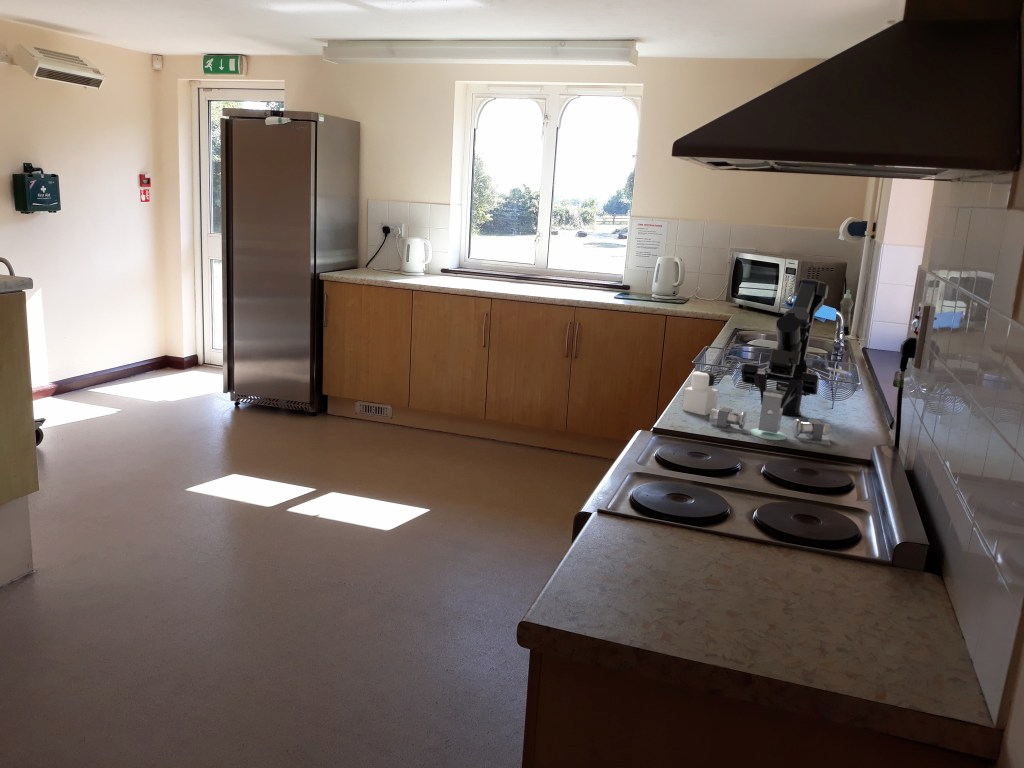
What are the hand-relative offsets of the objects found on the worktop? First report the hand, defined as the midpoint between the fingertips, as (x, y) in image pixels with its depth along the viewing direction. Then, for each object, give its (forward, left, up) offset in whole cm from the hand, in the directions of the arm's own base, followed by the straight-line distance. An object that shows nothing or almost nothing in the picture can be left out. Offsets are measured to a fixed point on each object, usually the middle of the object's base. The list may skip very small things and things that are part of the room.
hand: (771, 405), depth 206 cm
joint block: (-1, 0, -7) cm, 7 cm away
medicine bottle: (-17, -18, -9) cm, 26 cm away
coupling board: (-4, 0, -9) cm, 10 cm away
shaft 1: (-4, -10, -8) cm, 14 cm away
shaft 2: (-4, +11, -8) cm, 14 cm away
